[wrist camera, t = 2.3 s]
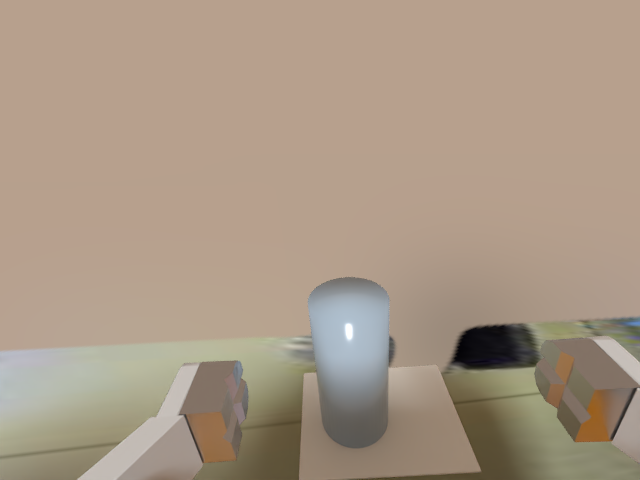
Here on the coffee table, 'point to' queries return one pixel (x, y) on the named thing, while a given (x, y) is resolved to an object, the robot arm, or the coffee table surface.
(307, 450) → the mat
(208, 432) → the robot arm
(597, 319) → the coffee table surface
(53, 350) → the coffee table surface
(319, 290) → the pale blue cylinder
